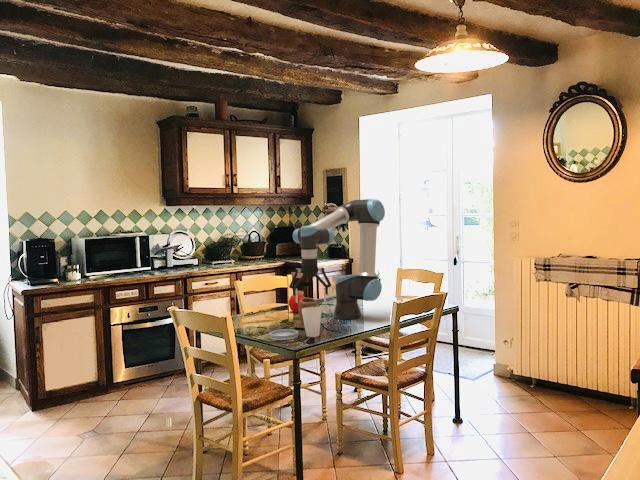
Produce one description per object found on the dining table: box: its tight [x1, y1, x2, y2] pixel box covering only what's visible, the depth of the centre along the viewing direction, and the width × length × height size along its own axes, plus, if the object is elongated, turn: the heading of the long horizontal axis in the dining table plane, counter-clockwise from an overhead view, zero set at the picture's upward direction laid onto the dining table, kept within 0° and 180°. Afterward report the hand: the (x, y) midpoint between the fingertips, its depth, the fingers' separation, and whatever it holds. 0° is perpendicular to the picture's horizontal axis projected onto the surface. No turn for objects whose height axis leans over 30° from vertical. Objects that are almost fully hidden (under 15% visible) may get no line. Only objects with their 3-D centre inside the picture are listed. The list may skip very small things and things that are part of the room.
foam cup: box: [302, 306, 323, 338], centre depth 274 cm, size 10×9×13 cm
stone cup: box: [293, 297, 318, 329], centre depth 294 cm, size 15×12×15 cm
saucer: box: [268, 328, 299, 341], centre depth 275 cm, size 14×14×2 cm
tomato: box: [288, 293, 306, 313], centre depth 334 cm, size 10×11×11 cm
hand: (310, 302), depth 273 cm, fingers open, 13 cm apart
